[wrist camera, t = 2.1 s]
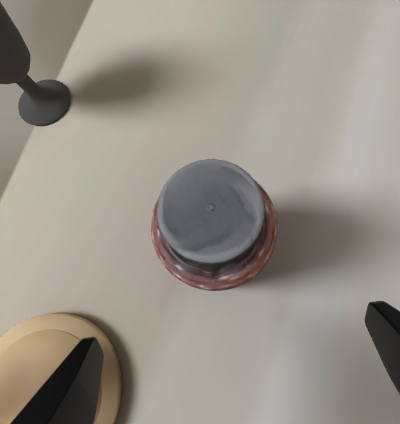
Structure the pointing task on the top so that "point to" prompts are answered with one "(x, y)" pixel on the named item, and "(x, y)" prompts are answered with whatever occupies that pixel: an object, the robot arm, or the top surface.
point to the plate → (52, 362)
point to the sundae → (28, 78)
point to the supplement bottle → (213, 225)
